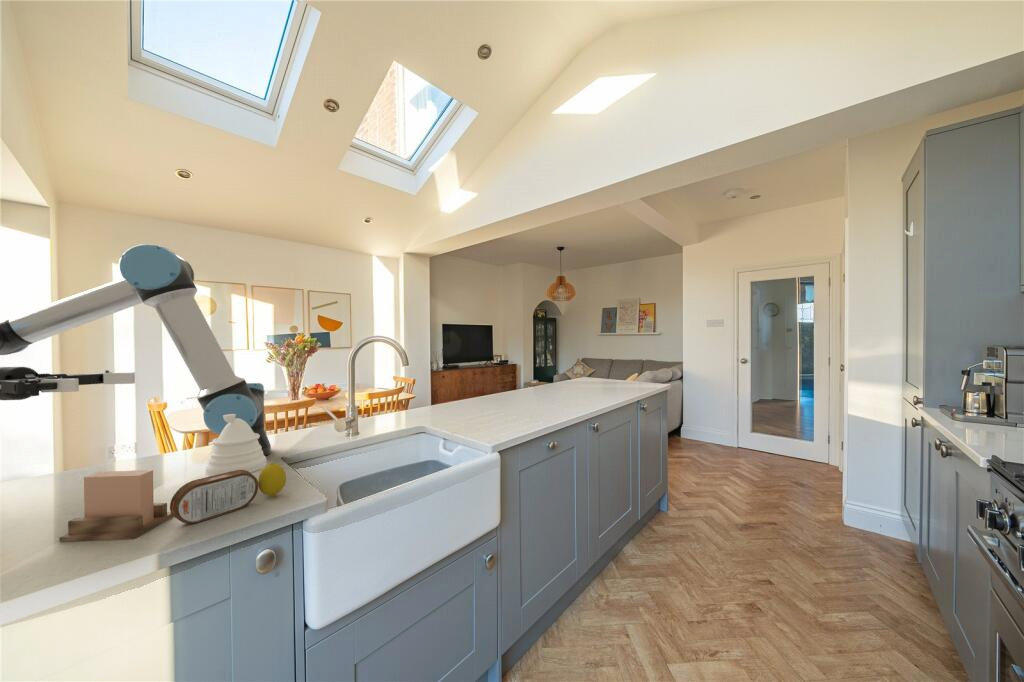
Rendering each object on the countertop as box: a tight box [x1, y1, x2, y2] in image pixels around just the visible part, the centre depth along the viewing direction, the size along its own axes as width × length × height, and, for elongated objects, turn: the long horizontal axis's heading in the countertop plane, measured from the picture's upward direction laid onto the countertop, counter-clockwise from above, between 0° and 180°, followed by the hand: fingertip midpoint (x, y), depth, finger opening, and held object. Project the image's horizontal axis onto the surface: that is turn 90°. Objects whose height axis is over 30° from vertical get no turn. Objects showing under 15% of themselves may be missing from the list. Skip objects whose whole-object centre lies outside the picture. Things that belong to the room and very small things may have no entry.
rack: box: [58, 502, 174, 543], centre depth 75 cm, size 13×9×3 cm
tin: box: [169, 470, 259, 524], centre depth 81 cm, size 15×3×8 cm, turn 146°
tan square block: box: [83, 469, 155, 525], centre depth 75 cm, size 10×3×10 cm, turn 95°
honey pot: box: [204, 414, 267, 480], centre depth 99 cm, size 13×13×18 cm
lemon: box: [258, 462, 287, 498], centre depth 90 cm, size 6×6×8 cm
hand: (107, 381), depth 88 cm, fingers open, 13 cm apart
